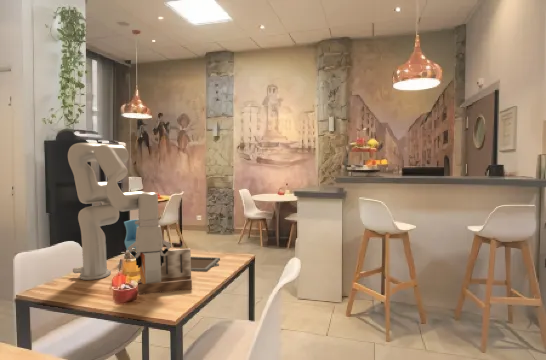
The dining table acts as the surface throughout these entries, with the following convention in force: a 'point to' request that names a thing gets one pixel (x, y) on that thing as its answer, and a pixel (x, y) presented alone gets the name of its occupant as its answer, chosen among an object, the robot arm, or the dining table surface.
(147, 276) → the small box
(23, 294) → the dining table surface
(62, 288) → the dining table surface
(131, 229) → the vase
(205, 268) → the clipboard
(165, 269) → the display ledge
